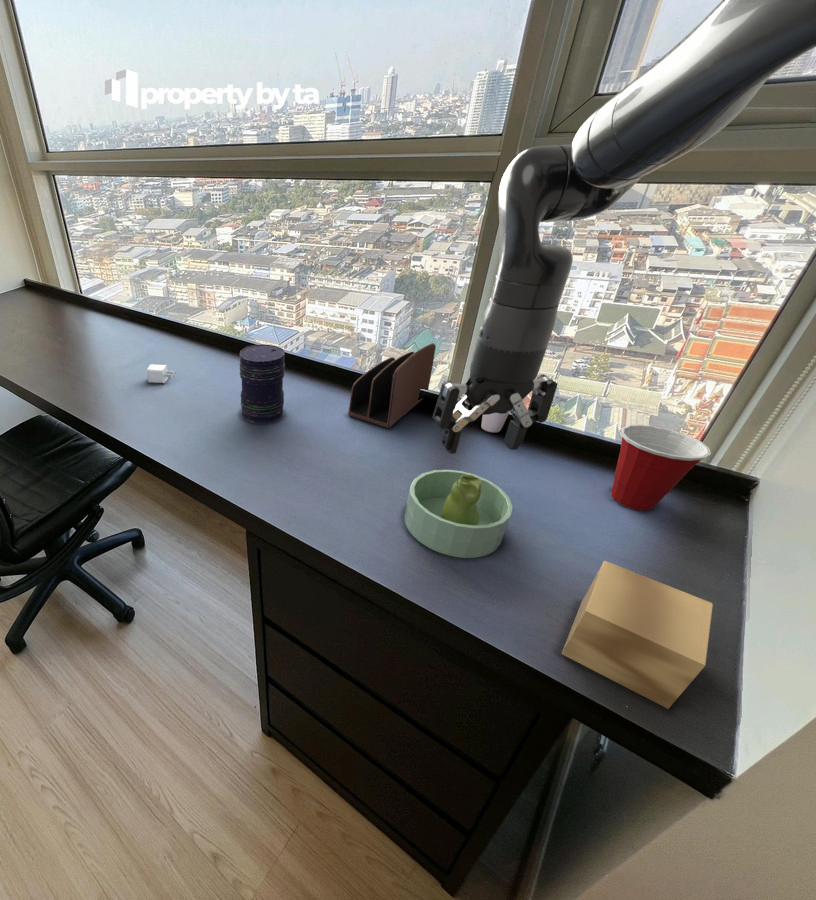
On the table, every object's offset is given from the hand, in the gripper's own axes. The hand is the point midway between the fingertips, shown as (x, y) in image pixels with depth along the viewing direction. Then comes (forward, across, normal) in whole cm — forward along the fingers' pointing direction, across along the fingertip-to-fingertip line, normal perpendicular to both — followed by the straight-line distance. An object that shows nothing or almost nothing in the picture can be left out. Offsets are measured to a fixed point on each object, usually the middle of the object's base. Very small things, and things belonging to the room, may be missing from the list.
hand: (479, 448), depth 67 cm
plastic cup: (+16, +32, +5) cm, 36 cm away
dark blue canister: (+16, -26, +43) cm, 52 cm away
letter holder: (+16, +4, +42) cm, 45 cm away
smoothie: (+16, +21, +30) cm, 40 cm away
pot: (+16, 0, +1) cm, 16 cm away
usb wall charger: (+16, -50, +64) cm, 83 cm away
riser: (+16, +10, -22) cm, 29 cm away
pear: (+15, 0, 0) cm, 15 cm away
